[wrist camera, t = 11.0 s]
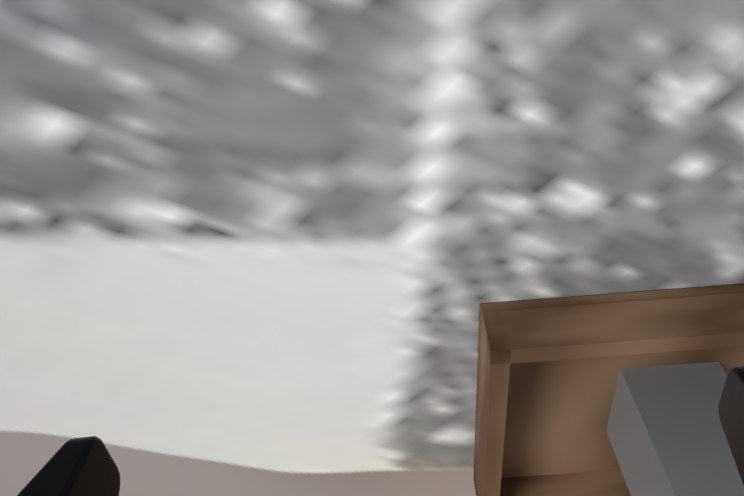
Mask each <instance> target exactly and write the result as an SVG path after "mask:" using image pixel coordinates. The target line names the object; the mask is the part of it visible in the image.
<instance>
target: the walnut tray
mask: <svg viewBox="0 0 744 496" xmlns="http://www.w3.org/2000/svg"><path fill="white" fill-rule="evenodd" d="M707 362H720V364H721V366H722V367H723V369H724V371H725V372H726V374H728V372H729V371H730V370H731V369H732V368H734V367H740V366H744V284H734V285H721V286H707V287H694V288H681V289H668V290H655V291H641V292H628V293H615V294H602V295H589V296H575V297H562V298H549V299H536V300H522V301H509V302H496V303H483V304H480V315H479V343H478V372H477V400H476V429H475V457H474V484H475V490H476V495H477V496H631V495H630V492H629V490H628V487H627V484H626V482H625V479H624V476H623V474H622V471H621V469H620V466H619V463H618V461H617V458H616V455H615V453H614V450H613V447H612V445H611V442H610V439H609V437H608V434H607V432H606V429H607V425H608V421H609V416H610V412H611V407H612V403H613V398H614V394H615V389H616V385H617V381H618V376H619V372H620V369H623V368H637V367H651V366H665V365H679V364H693V363H707Z"/></svg>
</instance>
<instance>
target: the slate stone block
mask: <svg viewBox="0 0 744 496" xmlns="http://www.w3.org/2000/svg"><path fill="white" fill-rule="evenodd" d="M726 377H727V374H726V372H725V371H724V369H723V367H722V366H721V364H720V362H707V363H693V364H679V365H665V366H651V367H637V368H623V369H620V372H619V376H618V381H617V385H616V389H615V394H614V398H613V403H612V407H611V412H610V416H609V421H608V425H607V429H606V432H607V434H608V437H609V439H610V442H611V445H612V447H613V450H614V453H615V455H616V458H617V461H618V463H619V466H620V469H621V471H622V474H623V476H624V479H625V482H626V484H627V487H628V490H629V492H630V495H631V496H744V485H743V483H742V480H741V477H740V475H739V472H738V469H737V466H736V464H735V461H734V458H733V455H732V453H731V450H730V447H729V444H728V442H727V439H726V436H725V433H724V431H723V428H722V425H721V422H720V419H719V413H718V406H719V401H720V398H721V394H722V391H723V387H724V384H725V380H726Z"/></svg>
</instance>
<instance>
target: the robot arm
mask: <svg viewBox="0 0 744 496" xmlns="http://www.w3.org/2000/svg"><path fill="white" fill-rule="evenodd" d="M718 413H719V419H720V422H721V425H722V428H723V431H724V433H725V436H726V439H727V442H728V444H729V447H730V450H731V453H732V455H733V458H734V461H735V464H736V466H737V469H738V472H739V475H740V477H741V480H742V483H743V485H744V366H740V367H734V368H732V369H731V370H730V371H729V372H728V374H727V377H726V380H725V384H724V387H723V391H722V394H721V398H720V401H719V406H718ZM119 490H120V474H119V470H118V467H117V466H116V464H115V462H114V460H113V459H112V457H111V455H110V454H109V452H108V450H107V448H106V447H105V445H104V443H103V442H102V440H101V439H100V438H98V437H95V436H92V437H82V438H74V439H71V440H69V441H67V442H66V443H65V444H64V445H63V446H62V447H61V448H60V449H59V450H58V451H57V452H56V453H55V454H54V456H53V457H52V458H51V459H50V460H49V461H48V462H47V463H46V464H45V465H44V466H43V468H42V469H41V470H40V471H39V472H38V473H37V474H36V475H35V476H34V477H33V479H32V480H31V481H30V482H29V483H28V484H27V485H26V486H25V487H24V488H23V489H22V491H21V492H20V493H19V494H18V495H17V496H119Z"/></svg>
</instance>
